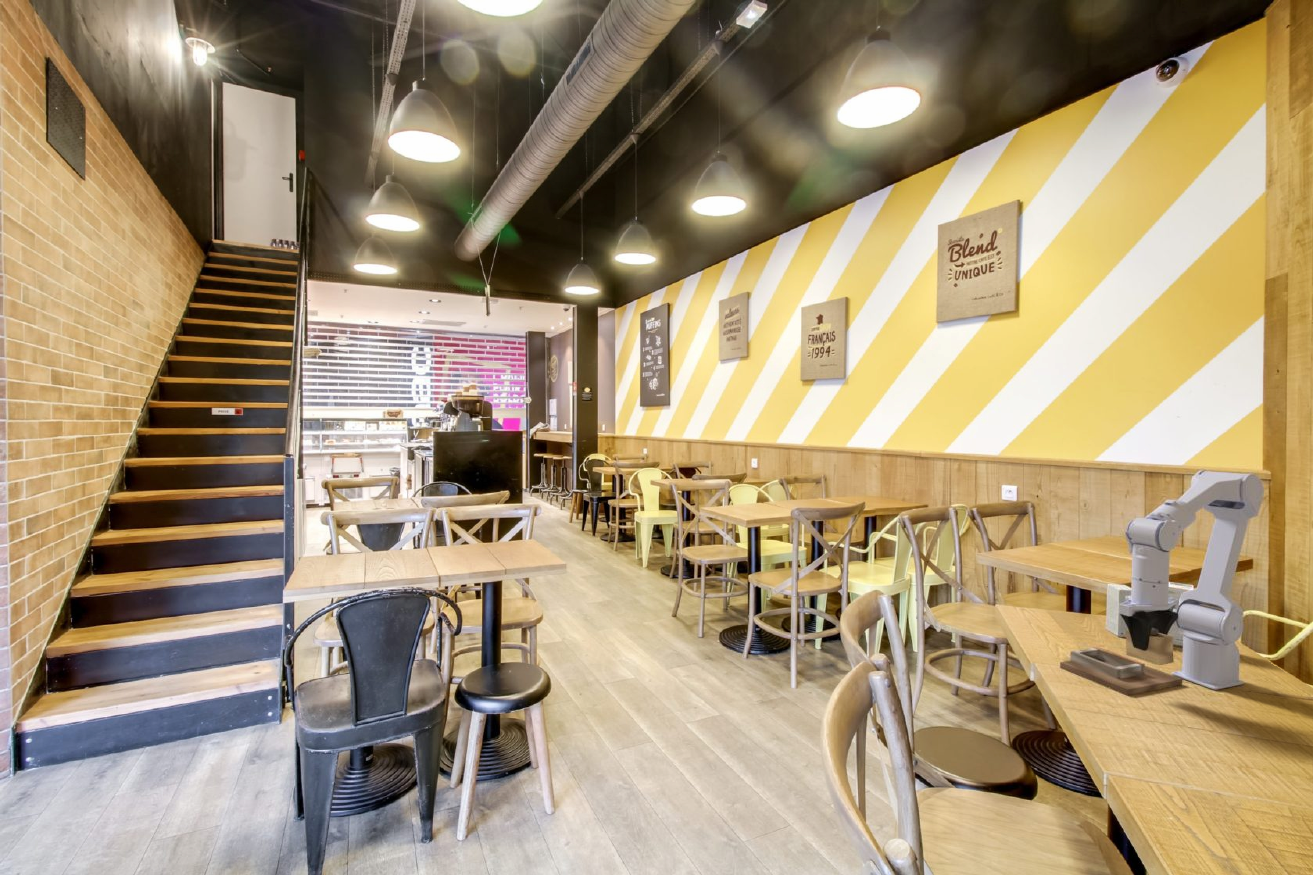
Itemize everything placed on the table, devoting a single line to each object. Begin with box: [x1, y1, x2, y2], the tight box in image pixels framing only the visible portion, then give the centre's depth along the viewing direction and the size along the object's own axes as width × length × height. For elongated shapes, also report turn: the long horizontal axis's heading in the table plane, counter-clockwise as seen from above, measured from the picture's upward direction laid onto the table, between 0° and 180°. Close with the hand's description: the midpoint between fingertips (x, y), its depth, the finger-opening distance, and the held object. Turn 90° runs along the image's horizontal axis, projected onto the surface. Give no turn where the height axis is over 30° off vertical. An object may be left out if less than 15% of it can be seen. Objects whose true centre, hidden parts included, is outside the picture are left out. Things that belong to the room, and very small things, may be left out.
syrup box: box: [1167, 581, 1195, 648], centre depth 147 cm, size 6×6×14 cm
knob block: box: [1125, 628, 1174, 666], centre depth 119 cm, size 4×6×6 cm
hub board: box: [1059, 646, 1183, 696], centre depth 128 cm, size 16×14×3 cm
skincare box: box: [1105, 583, 1131, 638], centre depth 153 cm, size 6×4×12 cm
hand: (1148, 647), depth 119 cm, fingers closed on knob block, 4 cm apart
